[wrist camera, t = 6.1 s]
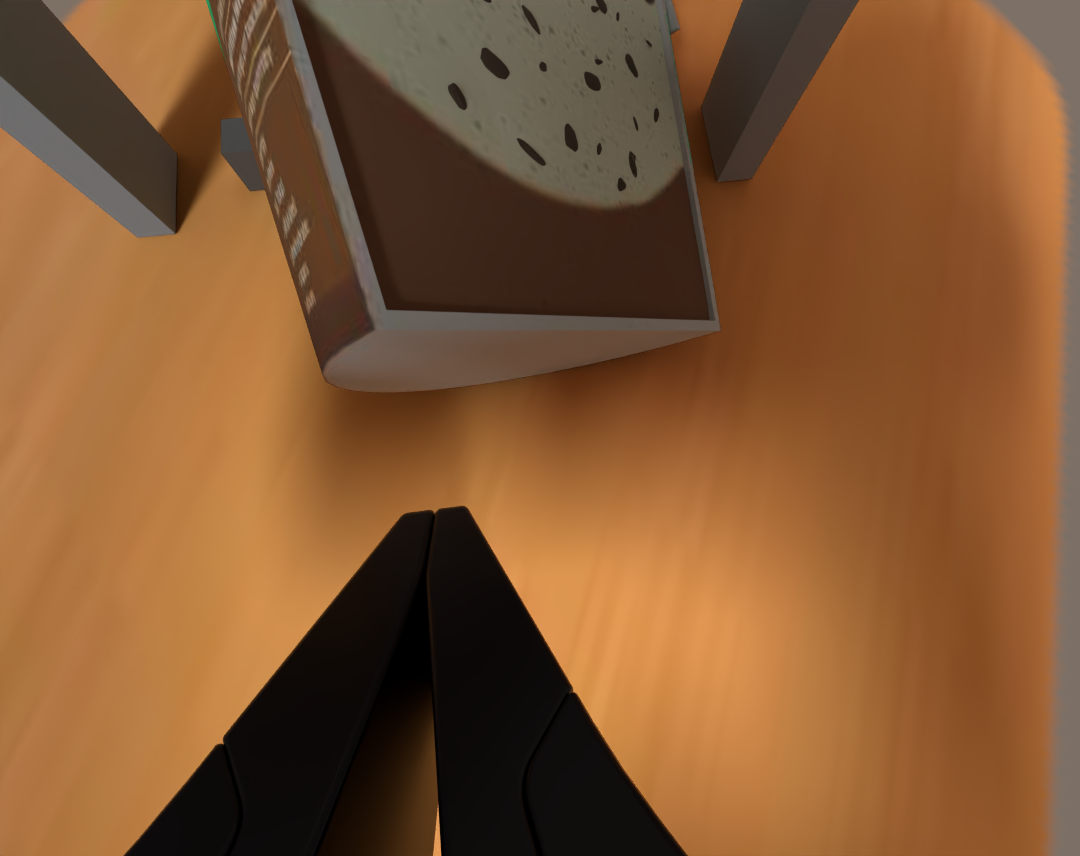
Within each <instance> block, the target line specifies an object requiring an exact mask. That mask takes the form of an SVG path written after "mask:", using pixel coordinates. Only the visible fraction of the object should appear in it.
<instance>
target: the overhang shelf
mask: <svg viewBox="0 0 1080 856" xmlns="http://www.w3.org/2000/svg"><path fill="white" fill-rule="evenodd" d="M858 1H859V0H743V1H742V4H741V6H740V9H739V11H738V14H737V17H736V19H735V22H734V24H733V27H732V29H731V32H730V35H729V37H728V40H727V42H726V45H725V47H724V50H723V52H722V55H721V58H720V60H719V63H718V65H717V68H716V70H715V73H714V76H713V78H712V81H711V83H710V86H709V88H708V91H707V93H706V96H705V99H704V101H703V104H702V106H701V109H702V113H703V118H704V123H705V127H706V132H707V137H708V141H709V146H710V151H711V155H712V160H713V165H714V169H715V174H716V179H717V182H723V181H734V180H744V179H752V177H753V176H754V174H755V172H756V171H757V169H758V167H759V166H760V164H761V162H762V161H763V159H764V157H765V156H766V154H767V152H768V151H769V149H770V147H771V146H772V144H773V142H774V141H775V139H776V137H777V136H778V134H779V132H780V131H781V129H782V127H783V126H784V124H785V122H786V121H787V119H788V117H789V116H790V114H791V112H792V111H793V109H794V107H795V106H796V104H797V102H798V101H799V99H800V97H801V96H802V94H803V92H804V91H805V89H806V87H807V86H808V84H809V82H810V81H811V79H812V77H813V76H814V74H815V73H816V71H817V69H818V68H819V66H820V64H821V63H822V61H823V59H824V58H825V56H826V54H827V53H828V51H829V49H830V48H831V46H832V44H833V43H834V41H835V39H836V38H837V36H838V34H839V33H840V31H841V29H842V28H843V26H844V24H845V23H846V21H847V19H848V18H849V16H850V14H851V13H852V11H853V9H854V8H855V6H856V4H857V3H858ZM0 127H1V128H2V129H3V130H5V131H6V132H7V133H8V134H10V135H11V136H12V137H13V138H15V139H16V140H17V141H18V142H20V143H21V144H22V145H23V146H24V147H26V148H27V149H28V150H29V151H31V152H32V153H33V154H34V155H36V156H37V157H38V158H39V159H41V160H42V161H43V162H44V163H46V164H47V165H48V166H49V167H51V168H52V169H53V170H54V171H56V172H57V173H58V174H59V175H61V176H62V177H63V178H64V179H65V180H67V181H68V182H69V183H70V184H72V185H73V186H74V187H75V188H77V189H78V190H79V191H80V192H82V193H83V194H84V195H85V196H87V197H88V198H89V199H90V200H92V201H93V202H94V203H95V204H97V205H98V206H99V207H100V208H102V209H103V210H104V211H105V212H106V213H108V214H109V215H110V216H111V217H113V218H114V219H115V220H116V221H118V222H119V223H120V224H121V225H123V226H124V227H125V228H126V229H128V230H129V231H130V232H131V233H133V234H134V235H135V236H136V237H148V236H159V235H169V234H175V233H176V177H177V153H176V152H175V151H174V150H173V149H172V148H171V147H170V145H169V144H168V143H167V142H166V141H165V140H164V139H163V138H162V136H161V135H160V134H159V133H158V132H157V131H156V130H155V128H154V127H153V126H152V125H151V124H150V123H149V122H148V121H147V119H146V118H145V117H144V116H143V115H142V114H141V113H140V111H139V110H138V109H137V108H136V107H135V106H134V105H133V104H132V102H131V101H130V100H129V99H128V98H127V97H126V96H125V94H124V93H123V92H122V91H121V90H120V89H119V88H118V87H117V85H116V84H115V83H114V82H113V81H112V80H111V79H110V77H109V76H108V75H107V74H106V73H105V72H104V71H103V70H102V68H101V67H100V66H99V65H98V64H97V63H96V62H95V60H94V59H93V58H92V57H91V56H90V55H89V54H88V53H87V51H86V50H85V49H84V48H83V47H82V46H81V45H80V43H79V42H78V41H77V40H76V39H75V38H74V37H73V36H72V34H71V33H70V32H69V31H68V30H67V29H66V28H65V26H64V25H63V24H62V23H61V22H60V21H59V20H58V18H57V17H56V16H55V15H54V14H53V13H52V12H51V11H50V9H49V8H48V7H47V6H46V5H45V4H44V3H43V1H42V0H0ZM221 154H222V155H223V157H224V158H225V159H226V160H227V162H228V163H229V164H230V166H231V167H232V168H233V170H234V171H235V172H236V173H237V175H238V176H239V177H240V179H241V180H242V181H243V183H244V184H245V185H246V186H247V188H248V189H249V190H250V191H257V190H265V188H264V185H263V182H262V178H261V175H260V172H259V169H258V166H257V162H256V159H255V156H254V153H253V149H252V146H251V143H250V140H249V137H248V133H247V130H246V127H245V124H244V121H243V118H232V119H221Z"/></svg>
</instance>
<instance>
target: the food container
mask: <svg viewBox="0 0 1080 856" xmlns="http://www.w3.org/2000/svg"><path fill="white" fill-rule="evenodd" d="M206 2H207V5H208V8H209V11H210V14H211V18H212V21H213V24H214V27H215V30H216V34H217V37H218V40H219V43H220V47H221V50H222V53H223V56H224V59H225V63H226V66H227V69H228V72H229V76H230V79H231V82H232V85H233V88H234V92H235V95H236V98H237V101H238V104H239V108H240V111H241V114H242V117H243V121H244V124H245V127H246V130H247V133H248V137H249V140H250V143H251V146H252V149H253V153H254V156H255V159H256V162H257V166H258V169H259V172H260V175H261V178H262V182H263V185H264V188H265V191H266V195H267V198H268V201H269V204H270V207H271V211H272V214H273V217H274V220H275V223H276V227H277V230H278V233H279V236H280V240H281V243H282V246H283V249H284V252H285V256H286V259H287V262H288V265H289V268H290V272H291V275H292V278H293V281H294V285H295V288H296V291H297V294H298V297H299V301H300V304H301V307H302V310H303V314H304V317H305V320H306V323H307V326H308V330H309V333H310V336H311V339H312V342H313V346H314V349H315V352H316V355H317V359H318V362H319V365H320V368H321V371H322V374H323V377H324V379H325V381H326V382H327V383H329V384H331V385H333V386H335V387H337V388H342V389H346V390H350V391H361V392H389V393H390V392H414V391H426V390H438V389H447V388H456V387H464V386H471V385H478V384H485V383H492V382H499V381H506V380H511V379H517V378H522V377H528V376H533V375H539V374H544V373H550V372H555V371H561V370H565V369H570V368H574V367H579V366H584V365H588V364H593V363H597V362H602V361H607V360H611V359H616V358H620V357H624V356H628V355H632V354H636V353H640V352H644V351H648V350H652V349H656V348H660V347H664V346H668V345H671V344H675V343H679V342H683V341H686V340H690V339H693V338H697V337H700V336H704V335H707V334H711V333H714V332H718V331H721V327H720V321H719V316H718V310H717V304H716V298H715V292H714V286H713V281H712V275H711V269H710V263H709V257H708V251H707V246H706V240H705V234H704V228H703V222H702V216H701V210H700V205H699V199H698V193H697V187H696V181H695V175H694V170H693V164H692V158H691V152H690V146H689V140H688V135H687V129H686V123H685V117H684V111H683V105H682V100H681V94H680V88H679V82H678V76H677V70H676V65H675V59H674V53H673V47H672V41H671V34H673V33H674V32H676V31H677V30H679V29H680V27H679V23H678V20H677V16H676V13H675V9H674V6H673V2H672V0H206Z"/></svg>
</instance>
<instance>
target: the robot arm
mask: <svg viewBox="0 0 1080 856" xmlns="http://www.w3.org/2000/svg"><path fill="white" fill-rule="evenodd" d="M223 743H224V744H217V745H216V746H215V747H214V748H213V750H212V751H211V752H210V753H209V755H208V756H207V757H206V758H205V759H204V761H203V762H202V763H201V764H200V766H199V767H198V768H197V769H196V771H195V772H194V773H193V774H192V776H191V777H190V778H189V779H188V781H187V782H186V783H185V784H184V785H183V786H182V788H181V789H180V790H179V791H178V792H177V794H176V795H175V796H174V797H173V798H172V800H171V801H170V802H169V803H168V804H167V806H166V807H165V808H164V809H163V810H162V811H161V813H160V814H159V815H158V816H157V817H156V819H155V820H154V821H153V822H152V823H151V825H150V826H149V827H148V828H147V829H146V831H145V832H144V833H143V834H142V835H141V836H140V838H139V839H138V840H137V841H136V842H135V843H134V845H133V846H132V847H131V848H130V849H129V850H128V851H127V852H126V853H125V855H124V856H433V850H434V839H435V829H436V818H437V808H438V806H439V823H440V840H441V856H688V855H687V854H686V853H685V851H684V850H683V849H682V847H681V846H680V845H679V844H678V842H677V841H676V840H675V838H674V837H673V836H672V835H671V833H670V832H669V831H668V829H667V828H666V827H665V825H664V824H663V823H662V822H661V820H660V819H659V817H658V816H657V815H656V813H655V812H654V811H653V809H652V808H651V806H650V805H649V804H648V802H647V801H646V799H645V798H644V797H643V795H642V794H641V793H640V791H639V790H638V788H637V787H636V786H635V784H634V783H633V781H632V780H631V779H630V777H629V776H628V775H627V773H626V772H625V770H624V769H623V768H622V766H621V764H620V763H619V761H618V760H617V758H616V757H615V755H614V753H613V752H612V750H611V749H610V747H609V746H608V744H607V742H606V741H605V739H604V738H603V736H602V735H601V733H600V731H599V730H598V728H597V727H596V725H595V723H594V722H593V720H592V719H591V717H590V715H589V713H588V712H587V710H586V708H585V707H584V705H583V703H582V702H581V700H580V698H579V696H578V695H577V693H575V692H573V687H572V685H571V684H570V682H569V680H568V678H567V677H566V675H565V673H564V672H563V670H562V668H561V666H560V665H559V663H558V661H557V660H556V658H555V656H554V654H553V653H552V651H551V649H550V648H549V646H548V644H547V643H546V641H545V639H544V637H543V636H542V634H541V632H540V631H539V629H538V627H537V625H536V624H535V622H534V620H533V619H532V617H531V615H530V614H529V612H528V610H527V608H526V607H525V605H524V603H523V602H522V600H521V598H520V596H519V595H518V593H517V591H516V590H515V588H514V586H513V585H512V583H511V581H510V579H509V578H508V576H507V574H506V573H505V571H504V569H503V567H502V566H501V564H500V562H499V561H498V559H497V557H496V556H495V554H494V552H493V550H492V549H491V547H490V545H489V544H488V542H487V540H486V538H485V537H484V535H483V533H482V532H481V530H480V528H479V526H478V525H477V523H476V521H475V520H474V518H473V516H472V515H471V513H470V511H469V510H468V508H467V507H465V506H458V507H450V508H442V509H439V510H438V511H436V513H434V511H432V510H426V511H418V512H410V513H406V514H404V515H402V516H401V517H400V518H399V520H398V521H397V522H396V523H395V525H394V526H393V527H392V528H391V530H390V531H389V532H388V533H387V534H386V536H385V537H384V538H383V539H382V541H381V542H380V543H379V544H378V546H377V547H376V548H375V549H374V551H373V552H372V553H371V554H370V556H369V557H368V558H367V559H366V560H365V562H364V563H363V564H362V565H361V567H360V568H359V569H358V570H357V572H356V573H355V574H354V575H353V577H352V578H351V579H350V580H349V582H348V583H347V584H346V585H345V586H344V588H343V589H342V590H341V591H340V593H339V594H338V595H337V596H336V598H335V599H334V600H333V601H332V603H331V604H330V605H329V606H328V608H327V609H326V610H325V611H324V613H323V614H322V615H321V616H320V617H319V619H318V620H317V621H316V622H315V624H314V625H313V626H312V627H311V629H310V630H309V631H308V632H307V634H306V635H305V636H304V637H303V639H302V640H301V641H300V642H299V643H298V645H297V646H296V647H295V648H294V650H293V651H292V652H291V653H290V655H289V656H288V657H287V658H286V660H285V661H284V662H283V663H282V665H281V666H280V667H279V668H278V670H277V671H276V672H275V673H274V674H273V676H272V677H271V678H270V679H269V681H268V682H267V683H266V684H265V686H264V687H263V688H262V689H261V691H260V692H259V693H258V694H257V696H256V697H255V698H254V699H253V700H252V702H251V703H250V704H249V705H248V707H247V708H246V709H245V710H244V712H243V713H242V714H241V715H240V717H239V718H238V719H237V720H236V722H235V723H234V724H233V725H232V726H231V728H230V729H229V730H228V731H227V733H226V734H225V735H224V737H223Z"/></svg>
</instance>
